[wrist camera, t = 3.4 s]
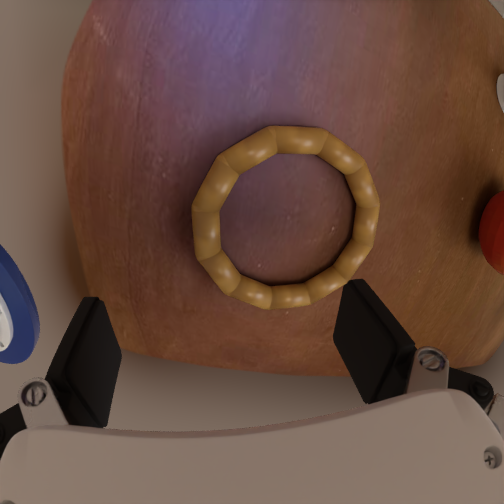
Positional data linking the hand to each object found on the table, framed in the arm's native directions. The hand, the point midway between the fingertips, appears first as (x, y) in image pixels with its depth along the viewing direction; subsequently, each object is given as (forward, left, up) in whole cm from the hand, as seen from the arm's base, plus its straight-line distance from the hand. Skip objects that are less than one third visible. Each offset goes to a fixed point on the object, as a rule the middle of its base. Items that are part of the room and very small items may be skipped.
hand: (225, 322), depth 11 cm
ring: (+5, 0, -10) cm, 11 cm away
